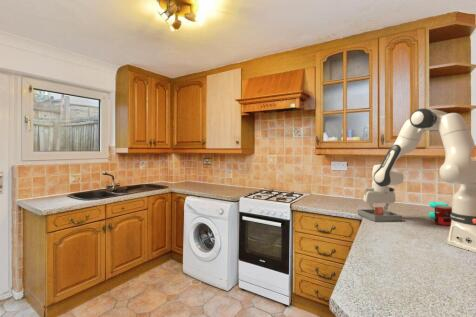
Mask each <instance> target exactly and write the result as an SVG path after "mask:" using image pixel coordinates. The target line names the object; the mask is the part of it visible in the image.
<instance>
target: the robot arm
mask: <svg viewBox="0 0 476 317" xmlns="http://www.w3.org/2000/svg"><path fill="white" fill-rule="evenodd" d="M427 131H429V132H439V135H440V138H441V142H442V145H443V148H444V149H443V150H444V152H445V157H444V162H443V164H441V166H440V167H439V172H438V173H439V177H440V178H441V180H442V181H443V182H445V183H449V184H454V185H460V187H459V189H458V190H457V191H456V192H455V193H453V195H452V196H451V198H452V200H451V207H452V212H451V215H450V216H451V226H449V232H448V235H447V239H446V241H447V242H446V244H447V245H450V246H453V247H456V248H460V249H463V250H466V251H468V250H469V251H468V252H472V253H475V254H476V160H472V158H471V156H472V151H473V150H474V149H475V147H476V144H475V141H474V138H473V136H472V133H471V130H470V128H469V126H468V124H467V122H466V120H465V119H464V117H463V116H462V115H461V114H460V113H457V112H450V113H449V112H447V111H443V110H439V109H434V108H418V109H415V110H414V111H413V112H412V113H411V114H410V116H409V118H408V119H407V120H405V122H404V124H402V127H401V129H400V131H399V132H398V136H397V138H396V139H395V141H394V143H393V145H392V146H391V147H390V148H389V149H388V151H387V152H386V154H385V156H384V159H383V160H382V161H381V163H376V164H374V165H373V166H372V171H371V172H372V173H371V178H372V182H371V188H366V189H365V190H364V191H363V193H364V194H363V203H366V204H368V205H369V208H370V209H371V210H374V209H375V206H373V204H383V203H384V204H385V206H383V210H386V211H388V210H389V206H390V204H394V203H395V202H396V193H395V190H396V189H395V188H394V187H391V186H396V185H397V186H398V185H401V183H403V181H404V174H403V172H402V171H400V170H398V169H395V168H394V166H395V164H396V162H397V161H398V159H400V158H401V157H403V156H406V155H407V154H409V153H412V152H413V151H415V150H416V148H418V145H419V143H420V142H421V139H422V136H423V135H424V133H425V132H427Z"/></svg>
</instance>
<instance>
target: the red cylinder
mask: <svg viewBox="0 0 476 317" xmlns="http://www.w3.org/2000/svg"><path fill="white" fill-rule="evenodd" d="M374 209H375V216H383V210H384V206H383V207H382V206H374Z"/></svg>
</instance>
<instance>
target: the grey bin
mask: <svg viewBox="0 0 476 317" xmlns="http://www.w3.org/2000/svg"><path fill="white" fill-rule="evenodd" d="M357 215H358V216H360V217H362V218H364V219H367V220H370V221H371V222H373V223H386V222H387V223H389V222H391V223H392V222H393V223H394V222H402V221H403V215H402V214H401V215H400V214H399V213H398V214H397V213H395V212H392V211H389V210H385V209H383V216H375V208H374V210H371V209H364V208H363V209H357Z"/></svg>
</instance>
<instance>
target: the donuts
mask: <svg viewBox="0 0 476 317" xmlns="http://www.w3.org/2000/svg"><path fill="white" fill-rule="evenodd" d="M428 205H429V207H431V208H432V209H435V205H446V206H449V204H448V203H447V202H441V201H431V202H429V203H428ZM428 216H429V218H432V219H434V218H435V211H431V212H429V214H428Z"/></svg>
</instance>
